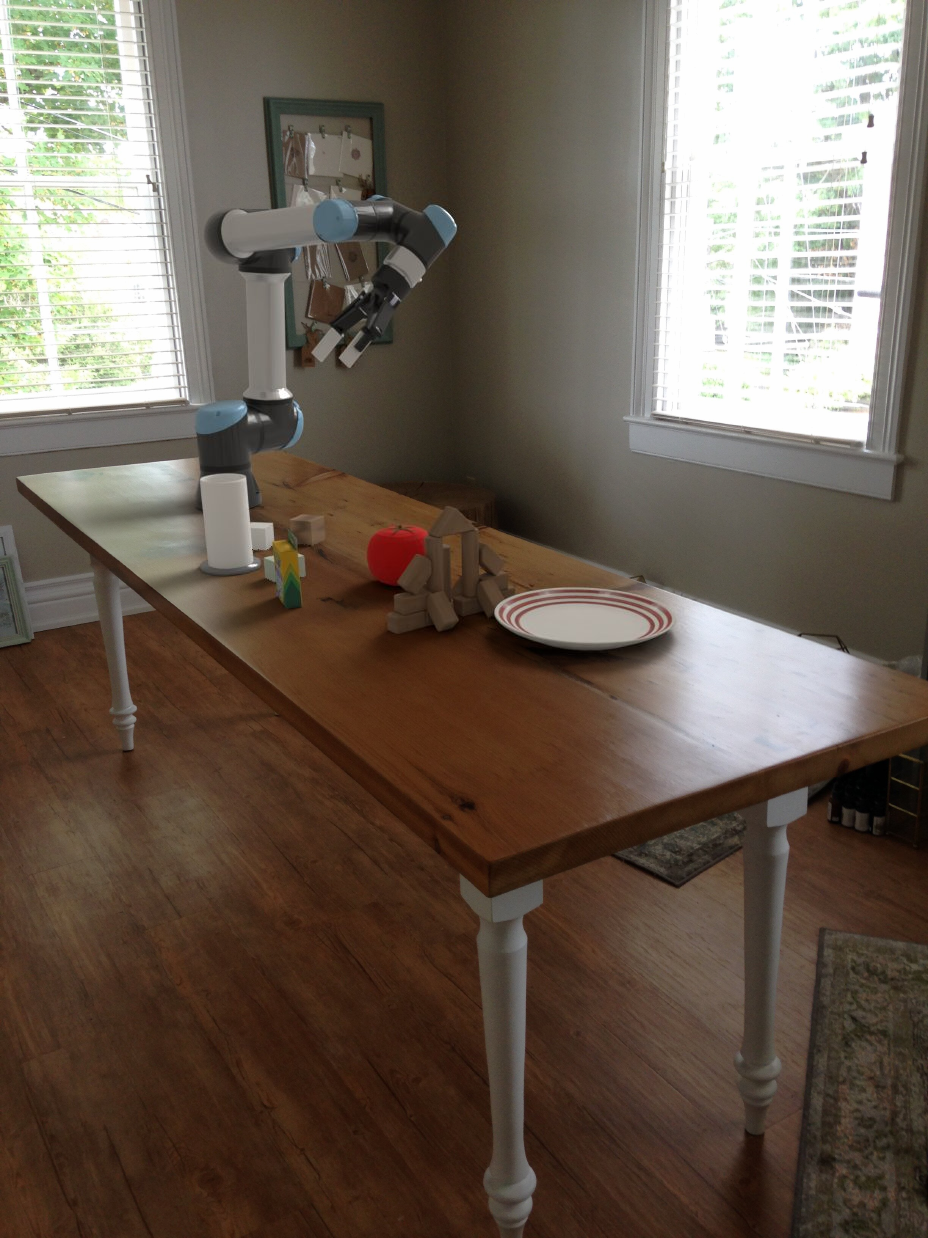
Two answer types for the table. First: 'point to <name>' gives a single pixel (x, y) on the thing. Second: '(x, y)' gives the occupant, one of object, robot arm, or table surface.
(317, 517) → the walnut block
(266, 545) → the off-white plastic block
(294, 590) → the crayon box
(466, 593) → the wooden blocks
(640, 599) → the dinner plate
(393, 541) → the tomato
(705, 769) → the table surface
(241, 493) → the cup
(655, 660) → the table surface
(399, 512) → the table surface
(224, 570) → the coaster
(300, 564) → the sage painted block
